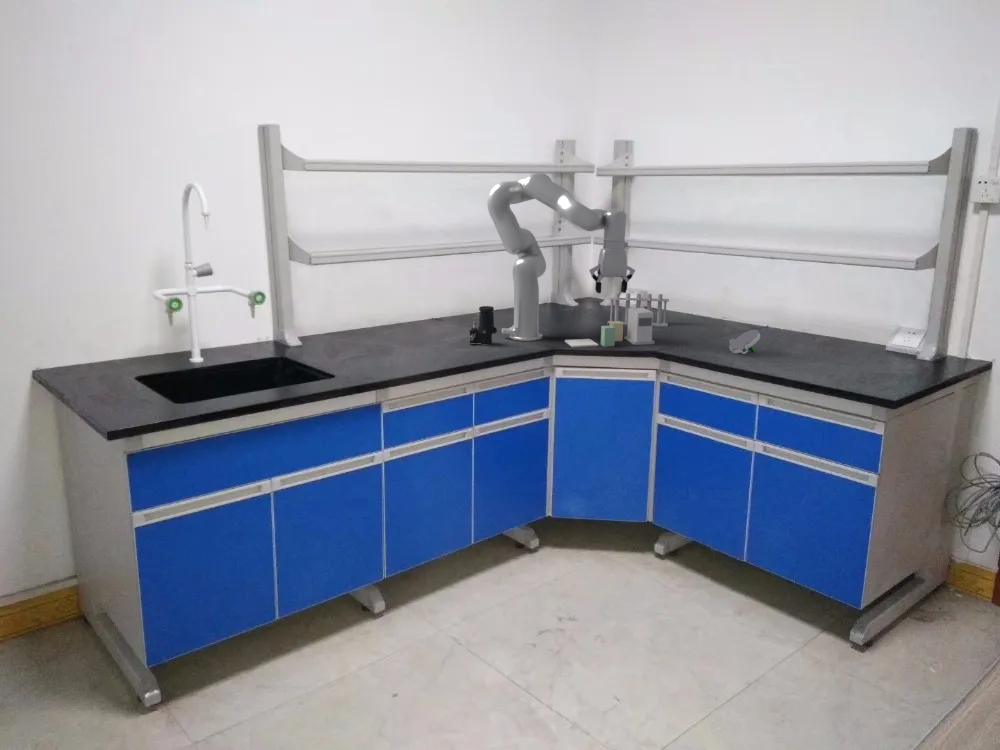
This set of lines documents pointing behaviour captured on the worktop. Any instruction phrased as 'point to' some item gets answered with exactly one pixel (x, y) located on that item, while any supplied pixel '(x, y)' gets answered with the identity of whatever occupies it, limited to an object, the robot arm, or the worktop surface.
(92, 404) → the worktop surface
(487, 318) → the scope
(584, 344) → the mat
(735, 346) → the grey tilted oval device
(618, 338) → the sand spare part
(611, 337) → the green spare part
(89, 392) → the worktop surface
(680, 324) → the worktop surface
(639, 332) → the bench unit
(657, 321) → the test tube rack
